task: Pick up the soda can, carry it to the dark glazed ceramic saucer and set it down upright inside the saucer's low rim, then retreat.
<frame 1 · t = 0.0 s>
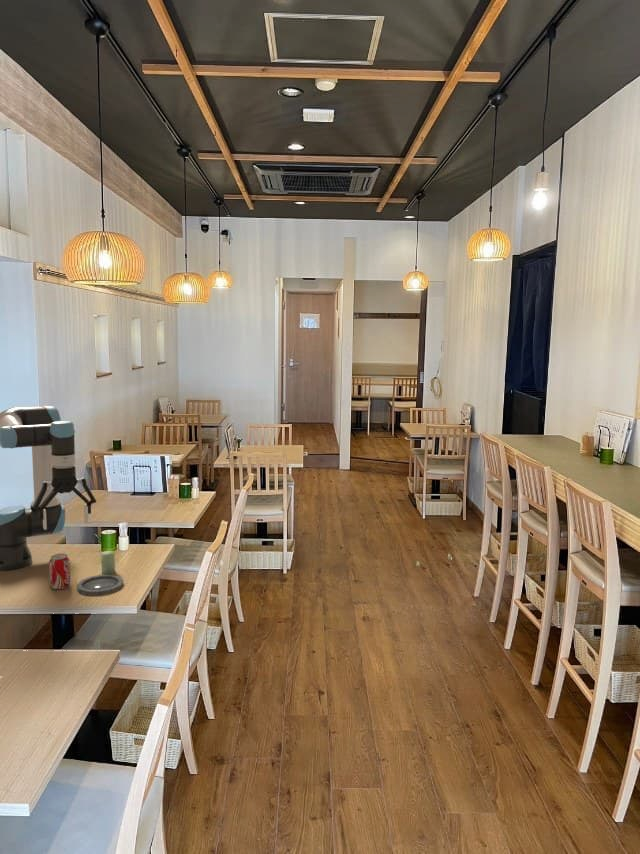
hand: (66, 525, 212), 28 cm above the table, fingers open, 13 cm apart
soda can: (60, 587, 229), on the table
saucer: (100, 586, 230), on the table
tea canister: (108, 572, 244), on the table
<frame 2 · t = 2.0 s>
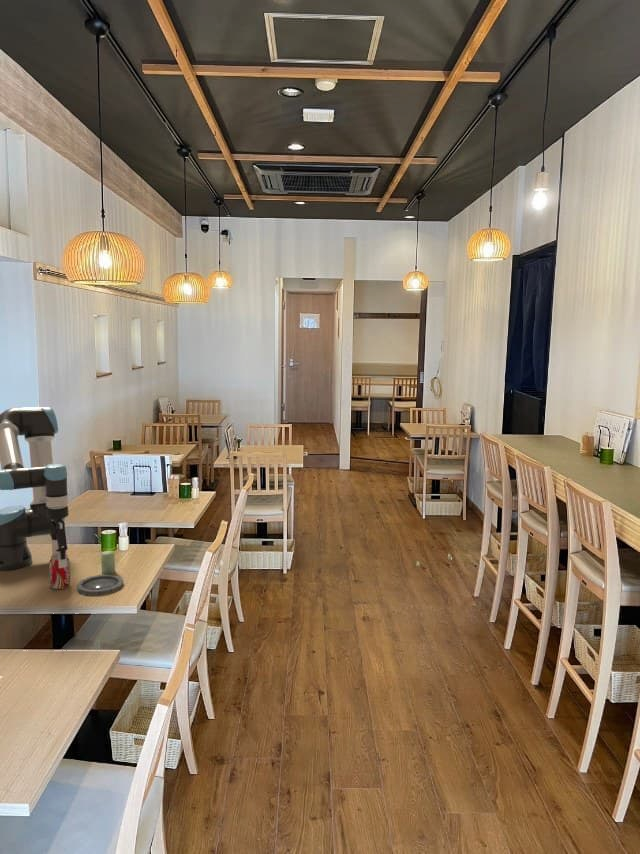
hand: (59, 561, 227), 10 cm above the table, fingers open, 13 cm apart
nothing on the table moved.
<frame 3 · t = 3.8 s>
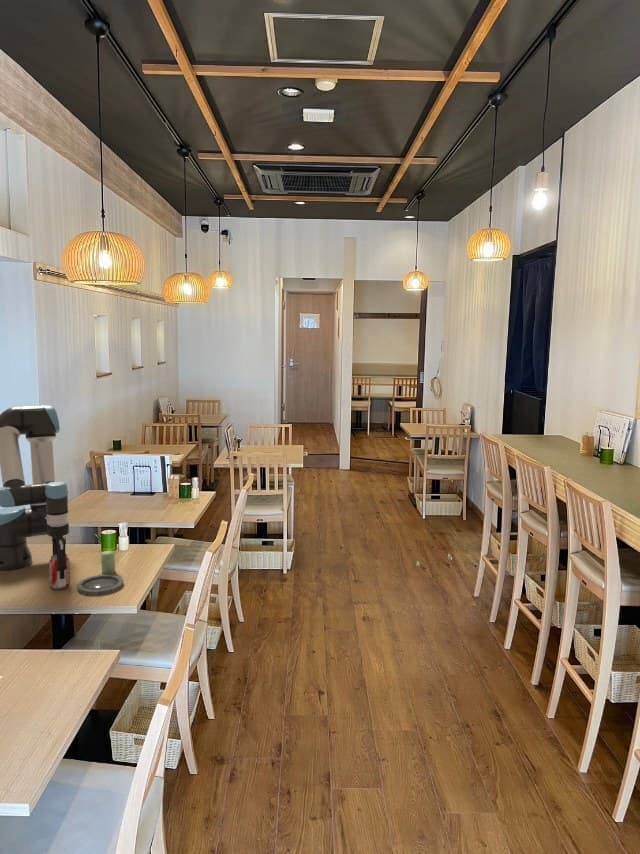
hand: (60, 582, 229), 2 cm above the table, fingers closed on soda can, 7 cm apart
soda can: (60, 587, 229), on the table, touching gripper
everything else where it was.
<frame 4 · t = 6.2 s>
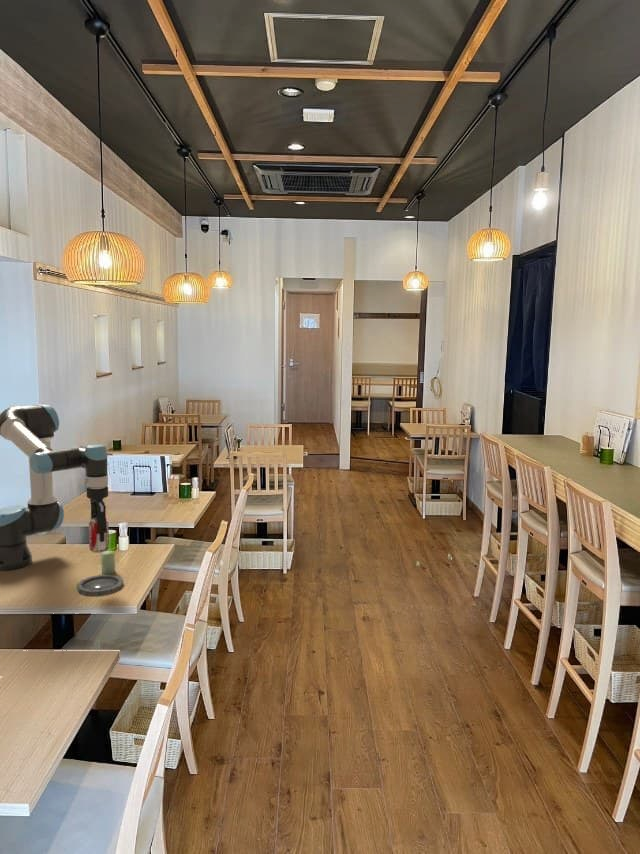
hand: (99, 546, 228), 16 cm above the table, fingers closed on soda can, 7 cm apart
soda can: (99, 550, 228), point 14 cm above the table, touching gripper
everything else where it was.
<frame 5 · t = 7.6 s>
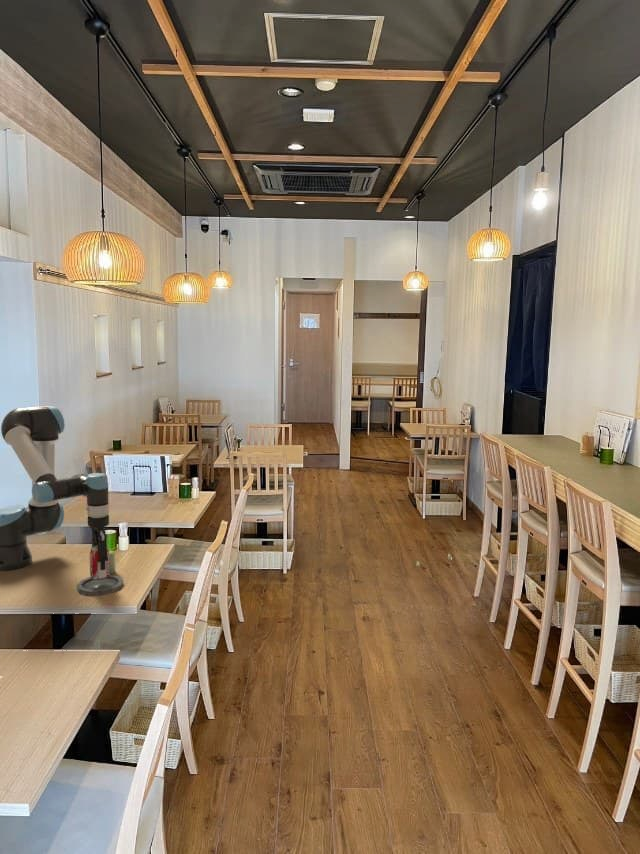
hand: (100, 573, 229), 5 cm above the table, fingers closed on soda can, 7 cm apart
soda can: (100, 578, 230), point 3 cm above the table, touching gripper
everything else where it was.
when the fingers open (4 cm above the table, at t = 8.5 s): soda can drops 2 cm, resting on saucer.
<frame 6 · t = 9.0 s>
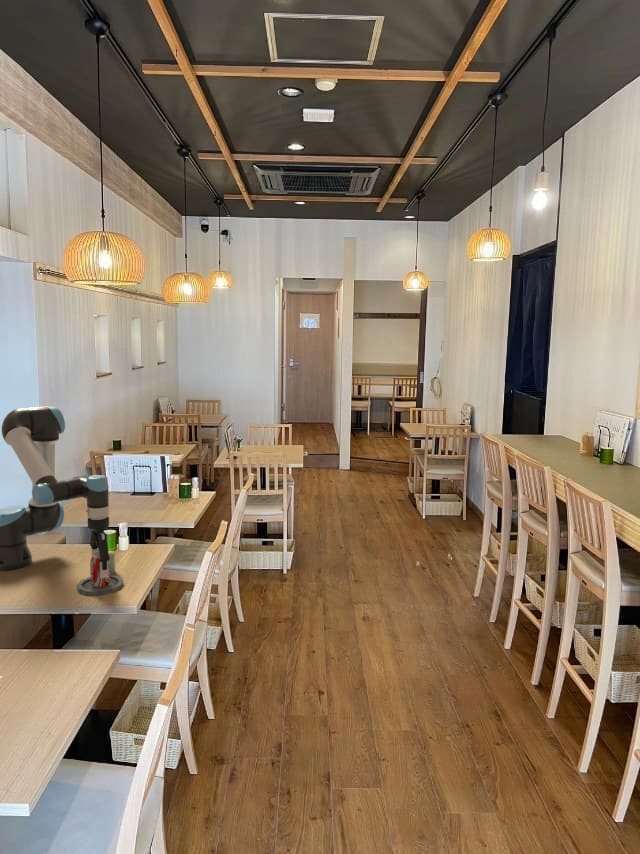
hand: (100, 571, 229), 6 cm above the table, fingers open, 13 cm apart
soda can: (100, 585, 230), resting on saucer
everything else where it was.
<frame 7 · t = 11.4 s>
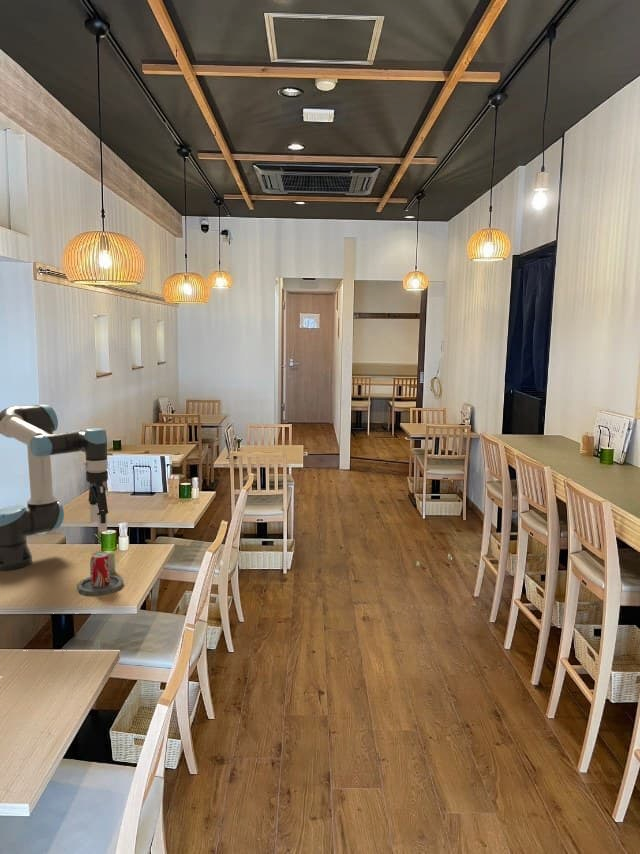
hand: (98, 526, 227), 24 cm above the table, fingers open, 13 cm apart
nothing on the table moved.
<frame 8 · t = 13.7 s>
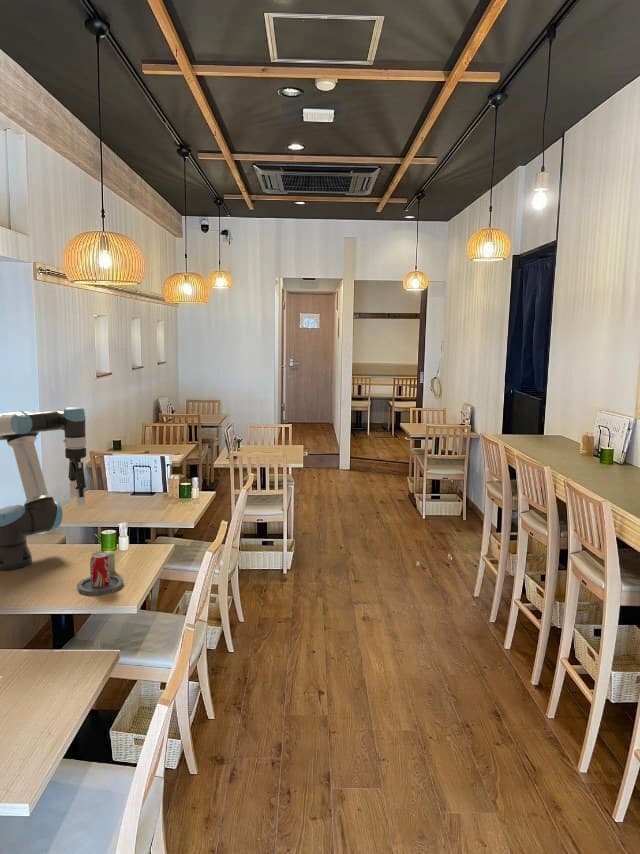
hand: (77, 500, 238), 30 cm above the table, fingers open, 13 cm apart
nothing on the table moved.
at the end: soda can 0.3 cm from the saucer (horizontally); soda can tilted 0°; the gripper is holding nothing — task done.
